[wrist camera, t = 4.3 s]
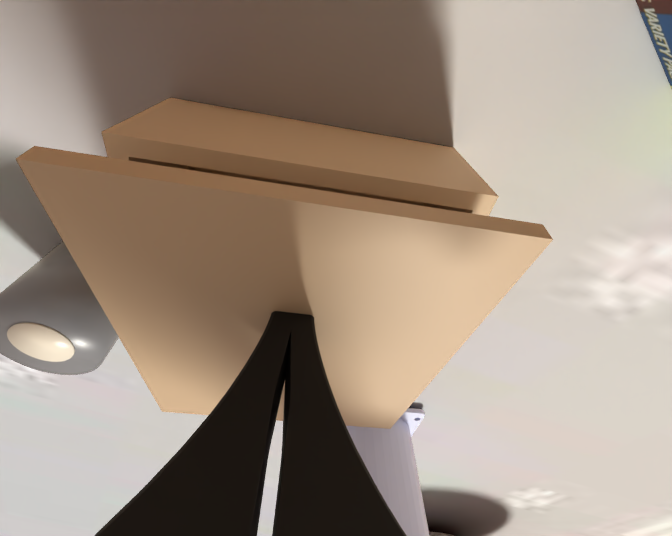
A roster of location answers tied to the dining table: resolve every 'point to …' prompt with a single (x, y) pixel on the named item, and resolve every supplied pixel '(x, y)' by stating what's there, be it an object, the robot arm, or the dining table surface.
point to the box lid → (276, 276)
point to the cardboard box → (299, 155)
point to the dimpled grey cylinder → (54, 318)
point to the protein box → (659, 29)
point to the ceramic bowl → (439, 534)
